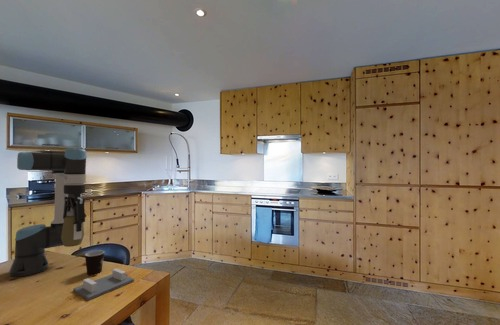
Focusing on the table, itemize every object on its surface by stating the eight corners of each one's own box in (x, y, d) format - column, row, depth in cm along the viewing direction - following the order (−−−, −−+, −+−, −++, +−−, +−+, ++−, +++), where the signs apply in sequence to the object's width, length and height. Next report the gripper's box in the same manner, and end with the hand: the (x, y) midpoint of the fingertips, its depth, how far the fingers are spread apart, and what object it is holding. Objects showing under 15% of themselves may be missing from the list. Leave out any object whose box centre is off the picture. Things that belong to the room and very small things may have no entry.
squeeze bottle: (88, 243, 103) (89, 202, 104) (67, 249, 96) (68, 204, 97) (77, 241, 107) (78, 201, 108) (56, 246, 100) (58, 203, 100)
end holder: (73, 291, 106) (73, 280, 106) (117, 274, 123) (118, 265, 123) (88, 300, 99) (89, 289, 99) (133, 281, 116) (134, 271, 116)
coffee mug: (94, 276, 120) (95, 256, 120) (80, 275, 121) (80, 255, 122) (112, 267, 131) (112, 249, 131) (98, 266, 133) (99, 248, 133)
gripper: (54, 183, 105) (53, 235, 104) (75, 185, 93) (73, 244, 93) (74, 182, 111) (72, 231, 111) (95, 184, 100) (94, 239, 99)
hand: (73, 237), depth 102 cm, fingers closed on squeeze bottle, 8 cm apart
